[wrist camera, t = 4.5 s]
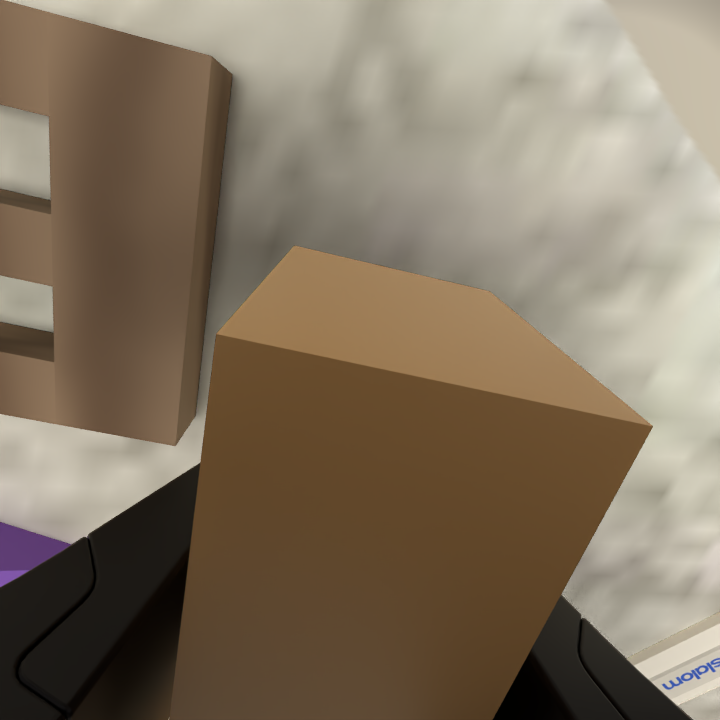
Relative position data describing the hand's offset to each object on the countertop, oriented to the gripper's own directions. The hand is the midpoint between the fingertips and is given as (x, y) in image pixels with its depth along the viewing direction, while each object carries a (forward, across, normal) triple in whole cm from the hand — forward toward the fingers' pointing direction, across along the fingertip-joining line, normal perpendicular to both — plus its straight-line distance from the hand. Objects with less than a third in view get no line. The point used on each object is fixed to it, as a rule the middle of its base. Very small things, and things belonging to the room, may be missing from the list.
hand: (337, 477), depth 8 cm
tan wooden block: (+2, 0, 0) cm, 2 cm away
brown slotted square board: (+12, +13, 0) cm, 17 cm away
